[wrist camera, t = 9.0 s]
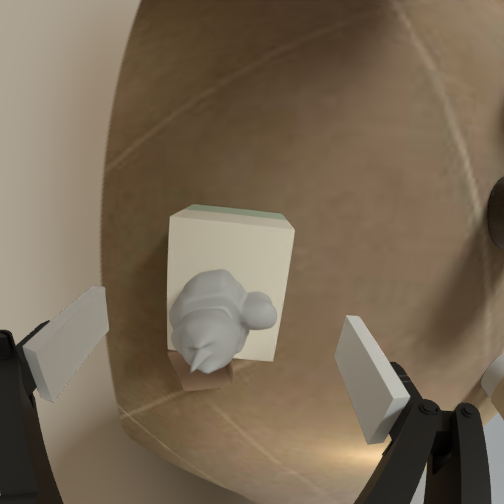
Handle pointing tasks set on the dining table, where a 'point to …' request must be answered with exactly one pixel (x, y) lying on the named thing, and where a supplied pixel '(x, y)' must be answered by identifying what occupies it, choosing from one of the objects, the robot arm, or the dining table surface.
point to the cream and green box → (232, 260)
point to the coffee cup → (495, 383)
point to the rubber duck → (216, 319)
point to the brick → (199, 374)
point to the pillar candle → (497, 214)
